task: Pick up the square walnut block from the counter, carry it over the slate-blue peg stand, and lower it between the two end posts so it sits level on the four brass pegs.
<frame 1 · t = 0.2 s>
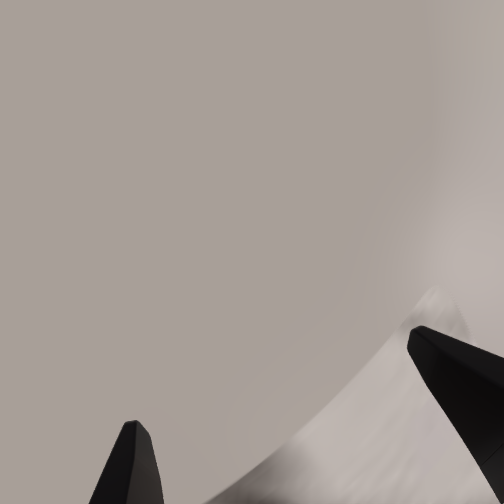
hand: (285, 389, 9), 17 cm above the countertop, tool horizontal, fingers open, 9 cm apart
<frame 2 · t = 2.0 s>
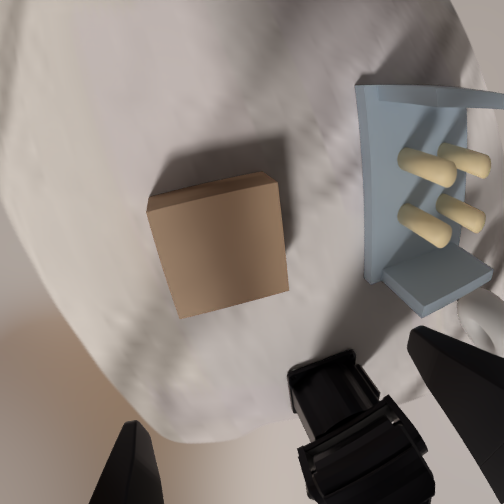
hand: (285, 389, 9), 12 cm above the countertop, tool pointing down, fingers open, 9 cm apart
peg stand: (417, 178, 21), on the countertop
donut: (459, 301, 30), on the countertop
walnut block: (215, 233, 19), on the countertop
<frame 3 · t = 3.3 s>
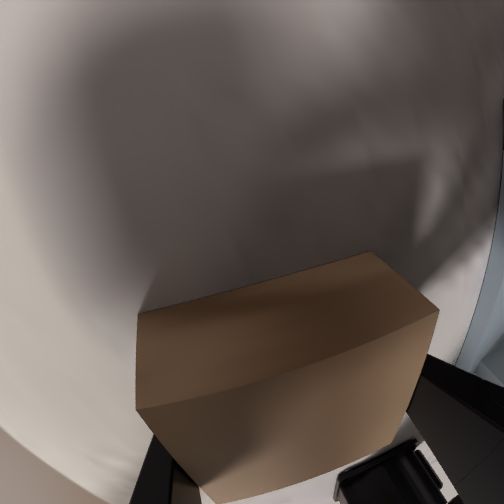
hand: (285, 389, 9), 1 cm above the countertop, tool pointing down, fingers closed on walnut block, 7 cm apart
walnut block: (274, 365, 10), on the countertop, touching gripper
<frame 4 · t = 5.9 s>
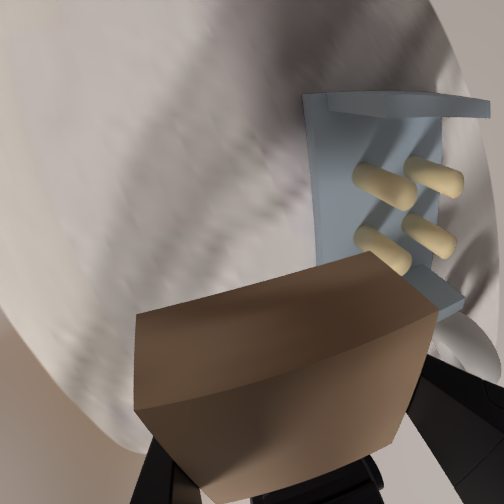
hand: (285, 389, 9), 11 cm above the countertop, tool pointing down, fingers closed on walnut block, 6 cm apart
peg stand: (380, 196, 20), on the countertop
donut: (435, 322, 29), on the countertop
walnut block: (273, 365, 10), point 10 cm above the countertop, touching gripper
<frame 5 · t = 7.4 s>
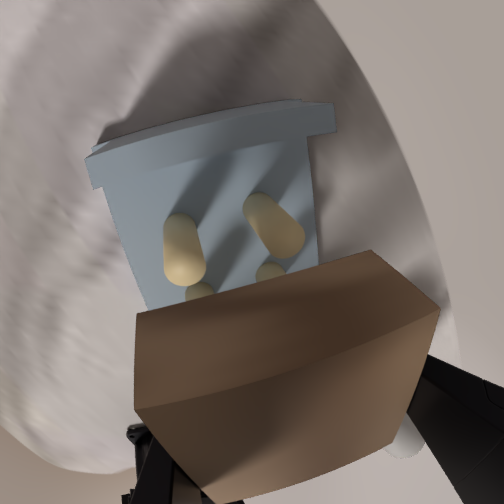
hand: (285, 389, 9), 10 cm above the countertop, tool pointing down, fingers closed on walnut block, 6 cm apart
peg stand: (223, 244, 17), on the countertop
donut: (357, 368, 26), on the countertop
walnut block: (274, 365, 10), point 9 cm above the countertop, touching gripper
when the fingers open (7 cm above the countertop, at t = 8.4 s): walnut block drops 1 cm, resting on peg stand.
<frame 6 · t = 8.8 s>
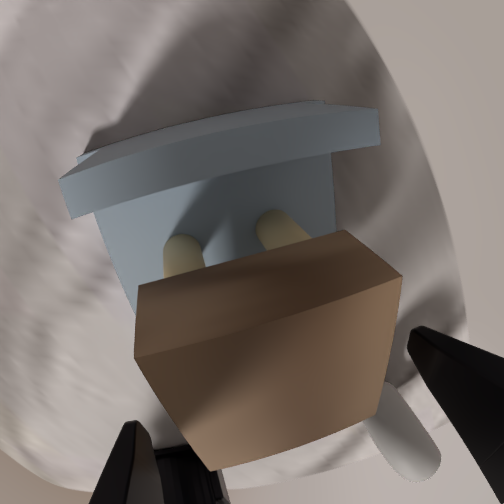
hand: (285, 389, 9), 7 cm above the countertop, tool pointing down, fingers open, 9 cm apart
peg stand: (232, 268, 15), on the countertop
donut: (370, 387, 24), on the countertop
walnut block: (261, 336, 11), point 5 cm above the countertop, touching peg stand
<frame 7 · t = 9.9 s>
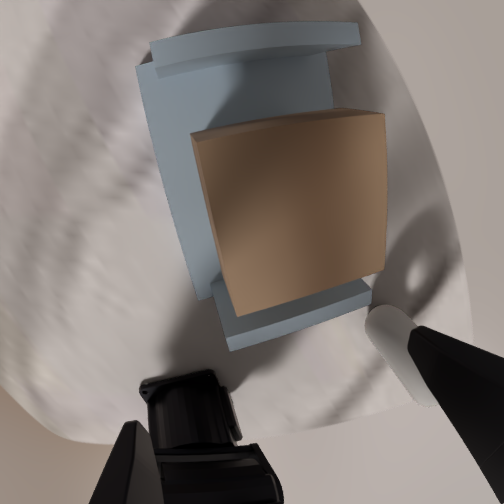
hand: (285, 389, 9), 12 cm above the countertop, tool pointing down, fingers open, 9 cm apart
peg stand: (252, 167, 18), on the countertop
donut: (376, 318, 27), on the countertop
walnut block: (282, 192, 13), point 5 cm above the countertop, touching peg stand
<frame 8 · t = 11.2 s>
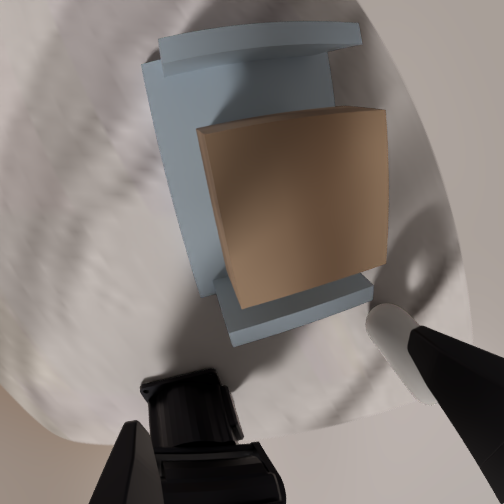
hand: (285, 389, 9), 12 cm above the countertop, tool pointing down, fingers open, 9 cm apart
peg stand: (255, 165, 18), on the countertop
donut: (376, 318, 27), on the countertop
walnut block: (285, 187, 14), point 5 cm above the countertop, touching peg stand
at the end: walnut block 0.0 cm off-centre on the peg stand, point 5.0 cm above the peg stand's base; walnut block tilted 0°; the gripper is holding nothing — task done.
